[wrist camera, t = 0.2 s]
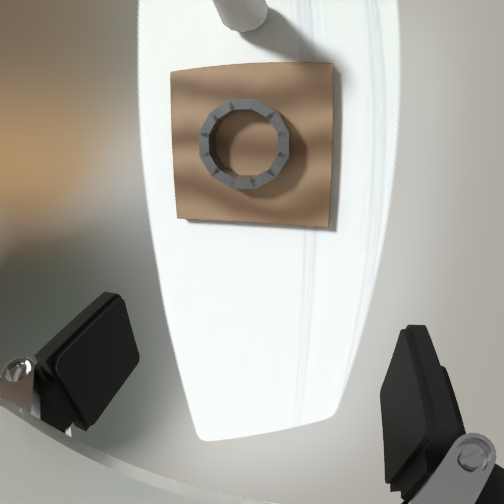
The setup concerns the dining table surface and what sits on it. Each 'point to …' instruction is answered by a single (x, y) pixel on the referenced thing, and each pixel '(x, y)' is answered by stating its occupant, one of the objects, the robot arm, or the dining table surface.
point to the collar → (214, 162)
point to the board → (255, 142)
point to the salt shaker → (242, 13)
